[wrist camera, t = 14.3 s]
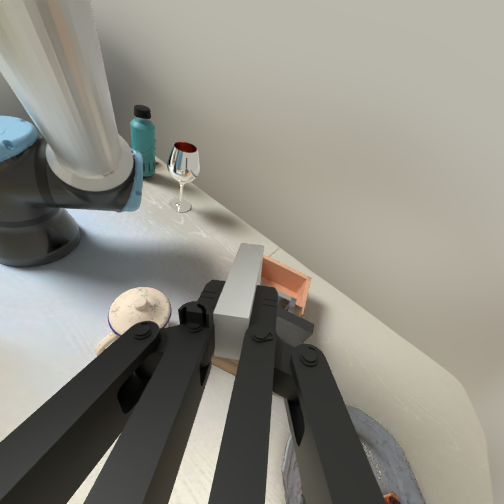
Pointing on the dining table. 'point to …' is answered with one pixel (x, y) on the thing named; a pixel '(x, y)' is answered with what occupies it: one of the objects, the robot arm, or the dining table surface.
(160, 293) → the teacup with lid
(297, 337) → the plunger
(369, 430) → the food plate
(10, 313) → the dining table surface
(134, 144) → the beverage bottle
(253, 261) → the robot arm
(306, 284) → the cup
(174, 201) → the wineglass
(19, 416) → the dining table surface
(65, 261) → the dining table surface
